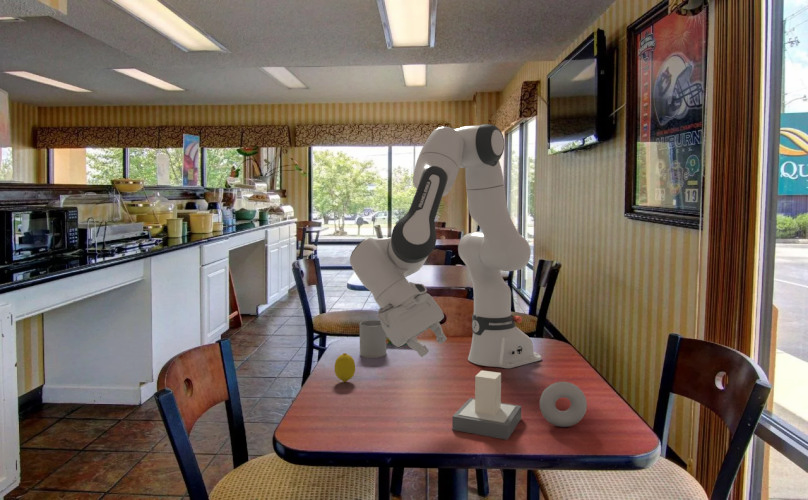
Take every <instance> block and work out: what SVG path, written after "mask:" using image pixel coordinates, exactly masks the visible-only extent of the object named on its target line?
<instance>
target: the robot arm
mask: <svg viewBox="0 0 808 500" xmlns="http://www.w3.org/2000/svg"><path fill="white" fill-rule="evenodd" d="M504 151H505V139H504V135H503V132H502V131H501V129H500V128H499V127H498V126H497V125H495V124H490V123H489V124H487V123H486V124H481V125H467V126H466V125H465V126H461V127H459V128H458V127H457V128H452V127H449V126H439V127H437V128H435V129H433V130H432V132H431V133H430V135H429V136H428V137H427V139H426V140H425V143H424V144H423V146H422V147H421V150H420V153H419V155H418V157H417V160H416V163H415V166H414V171H413V176H412V183H413V186H414V188H415V189H416V190H415V192H414V196H413V199H412V201H411V204H410V207H409V209H408V212H407V213H406V214H405V215H403V217H401V218H400V219H399V221H398V222H397V223H396V224H395V225H394V227H393V229H392V233H391V237H384V238H383V237H382V238H373V237H366V238H364V239H362V240H361V241H360V242H359V243H358V244H357V245H356V246H355V247H354V249H353V250H352V251H351V254H350V258H349V263H350V266H351V268H352V270H353V272H354V273H355V275H356V277H357V278H358V279H359V281H360V282H361V284H362V285H363V286H364V287H365V288H366V289H367V290H369V292H370V293H371V294H372V296H373V300H374V301H375V303H376V304H377V305H378V306H379V309H377V310H378V311H377V318H378V320H379V321H381V325H382V327H383V329H384V331H385V333H386V334H387V336H388V338H389V339H390V341H391V342H392V343H393V344H392V345H394V346H395V347H397V348H400V347H402V346H404V345H403V344H405V343H407V345H406V346H408V347H409V348H411V350H414V352H416V353H417V354H418V355H419V357H420V358H423V357H425V356H427V354H428V353H429V352H430V350H429V349H428V348H427V346H426V345H425V344H424V345H423V344H421V342H419V341H418V338H417V337H418V336H419V335H421V334H423V333H424V332H426V331H428V330H429V329H430V330H431V332H434V335H435V337H436V338H435V340H436V342H438V344H439V345H441V344H443V343H445V342H446V341H447V339H448V338H447V336H446V335H445V333H444V331H443V327H442V325H441V324H440V322H441V321H442V320H443V319H444V318H445V315H444V312H443V310H442V309H441V307H440V306H439V304H438V303H437V302H436V300H435V299H434V298H433V296H431V295H430V294H429V293H427V291H428V289H427V287H426V285H424V284H422V283H414V282H411V281H409V280H408V279H407V277H409V276H411V275H413V274H415V273H417V272H418V271H420V270H421V268H422V267H423V266H424V264H425V262H426V261H427V259H428V257H429V256H430V254H431V253H432V252H433V251H434V249H435V247H436V244H437V231H436V222H435V221H436V218H437V214H438V211H439V207H440V205H441V201H442V198H443V197H445V196H447V195H448V194H449V192H450V191H451V189H452V187H453V186H454V183H455V182H456V179H457V176H458V174H459V170H460V169H465V170H464V171H465V172H464V173H465V188H466V197H467V204H468V212H469V213H468V214H469V215H470V217H471V219H472V220H474V221H475V223H477V225H478V226H479V228H480V230H481V231H474V232H469V233H466V234H465V235H463V236H462V238H461V239H460V240H459V242H458V245H457V251H458V256H459V257H460V259H461V260H462V261H463V263H464V264H465V267H466V268H467V270H468V273H469V277H470V279H471V284H472V289H473V291H472V292H473V313H472V317H471V318H472V319H471V328H472V339H471V345H470V349H469V354H468V357H467V360H468V361H469V362H470V363H472V364H475V365H478V366H484V367H491V368H492V367H494V368H504V369H513V368H516V367H520V366H524V365H528V364H531V363H535V362H538V361H540V362H541V361H542V356H541V355H540V354H539V353H538V352H535V350H534V343H533V341H532V338H531V337H529V336H528V335H527V334H526V333H525V332H523V331H522V330H521V329H520V328H518V327H517V325H516V323H517V324H520V323H522V321H523V318H522V316H519V315H515V316H514V315H513V314H512V312H511V311H512V310H511V308H512V291H511V287H510V286H509V285H508V284H507V282H506V281H505V280H504V278H503V276H502V273H501V271H503V272H514V271H519V270H522V269H524V268H525V267H526V266H527V265H528V263H529V262H530V258H531V246H530V244H529V242H528V241H527V240H526V238H525V237H523V236H522V235H521V234H520V232H519V231H518V230H517V228H516V226H515V224H514V223H513V220H512V218H511V215H510V213H509V209H508V203H507V196H506V189H505V182H504V181H505V180H504V175H503V170H502V166H501V162H500V159H501V158H502V156H503V154H504Z"/></svg>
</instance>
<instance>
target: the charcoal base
mask: <svg viewBox="0 0 808 500" xmlns="http://www.w3.org/2000/svg"><path fill="white" fill-rule="evenodd" d="M521 420H522V405H519V404H518V405H517V404H512V403H506V402H505V403H504V402H501V409H500V410H499V411H498V412H497V414H496V415H489V414H483V413H477V412H475V397H474V398H473V397H469V399H468V400H467V401H466V402H464V404H462V406H461V407H460V408H458V409H457V411H456V412H455V413H453V415H452V420H451V421H452V424H451V425H452V426H451V428H452V431H458V432H463V433H467V434H468V433H469V434H474V435H478V436H485V437H490V438H496V439H500V440H505V441H508V440H509V438H510V437H511V435H512V434H513V432H514V431H515V430H516V428H517V426H518V425H519V423H520V421H521Z"/></svg>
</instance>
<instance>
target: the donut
mask: <svg viewBox="0 0 808 500" xmlns="http://www.w3.org/2000/svg"><path fill="white" fill-rule="evenodd" d="M561 398H564V399H568V400H569V402H570V406H569V408H568V409H566V410H560V409H558V408H557V406H556V403H557V401H559V399H561ZM587 408H588V403H587V398H586V396H585V394H584V391H582V389H580V388H579V386H577V385H576V384H574V383H571V382H567V381H556V382H554V383H551V384H549V385H548V386H547V387H546V388H544V390H543V392H542V393H541V395H540V398H539V409H540V413H541V414H542V416H543V418H544V419H545V420H546V421H547V422H548V423H549V424H551V425H554V426H555V427H560V428H567V427H572V426H574V425H576V424H578V423H579V422H580V421H582V419H583V418H584V416H585V414H587V413H586V411H587Z"/></svg>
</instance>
